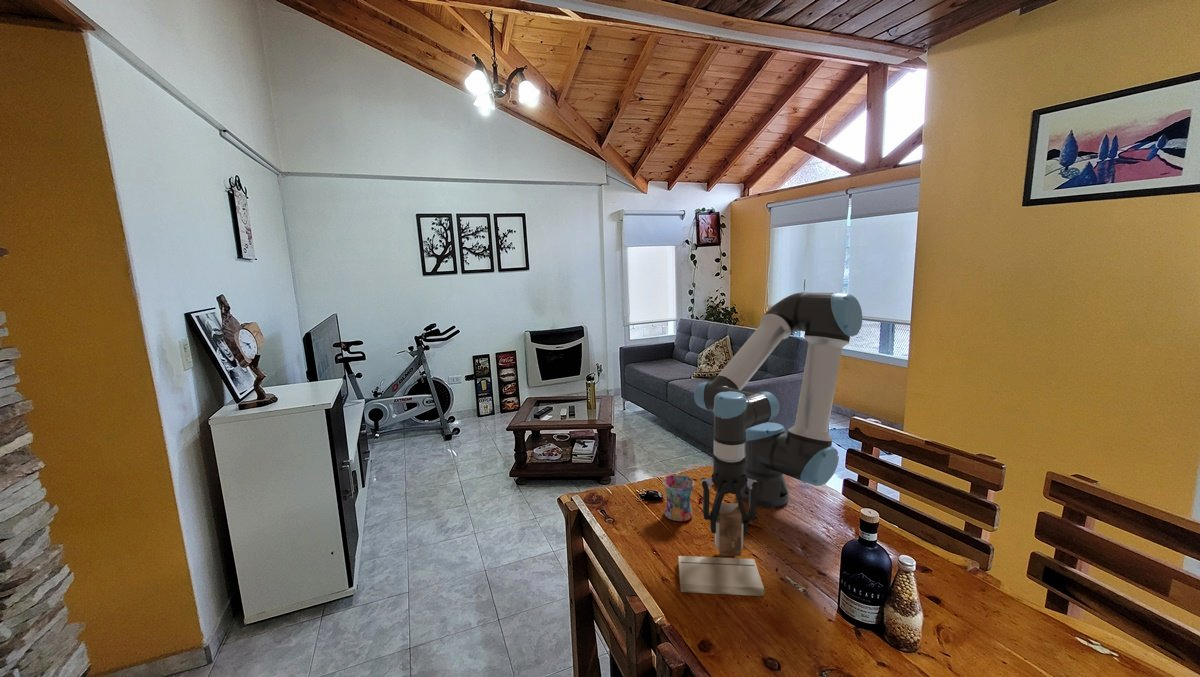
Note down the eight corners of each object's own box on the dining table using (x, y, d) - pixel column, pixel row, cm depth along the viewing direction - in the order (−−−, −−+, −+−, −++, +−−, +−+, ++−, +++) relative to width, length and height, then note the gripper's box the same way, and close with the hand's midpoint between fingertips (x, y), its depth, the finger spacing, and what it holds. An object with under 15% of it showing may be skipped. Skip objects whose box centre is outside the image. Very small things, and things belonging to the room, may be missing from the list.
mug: (682, 528, 126) (682, 492, 124) (656, 516, 132) (655, 482, 131) (705, 511, 134) (705, 477, 132) (679, 500, 140) (679, 468, 139)
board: (753, 566, 109) (754, 558, 108) (763, 596, 99) (764, 587, 98) (678, 563, 111) (678, 555, 110) (680, 591, 101) (680, 583, 101)
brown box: (737, 543, 114) (737, 503, 113) (744, 566, 106) (744, 523, 104) (717, 542, 115) (717, 502, 113) (722, 565, 106) (722, 522, 105)
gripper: (764, 450, 111) (762, 537, 115) (690, 449, 113) (690, 534, 117) (772, 463, 104) (770, 555, 107) (692, 462, 106) (693, 552, 109)
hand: (728, 544), depth 112 cm, fingers closed on brown box, 5 cm apart
